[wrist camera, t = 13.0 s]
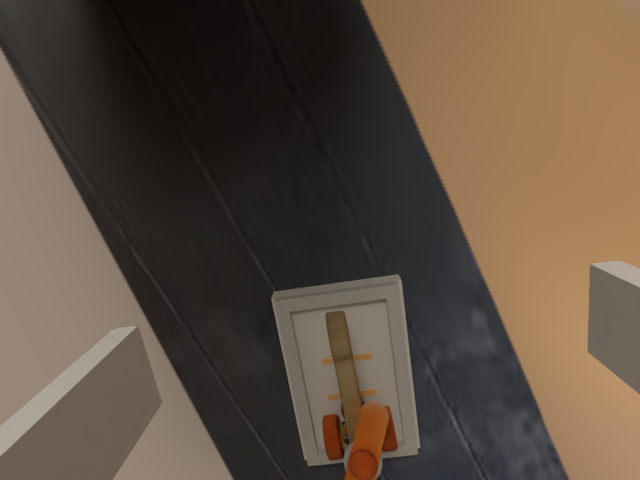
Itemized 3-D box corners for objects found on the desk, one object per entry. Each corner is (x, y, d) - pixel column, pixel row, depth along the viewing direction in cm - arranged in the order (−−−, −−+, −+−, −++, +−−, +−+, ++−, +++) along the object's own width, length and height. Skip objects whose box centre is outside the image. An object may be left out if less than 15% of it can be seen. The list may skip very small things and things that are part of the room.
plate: (273, 291, 44) (269, 302, 42) (398, 274, 43) (403, 283, 41) (305, 448, 50) (304, 466, 47) (416, 435, 49) (422, 454, 46)
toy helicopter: (331, 445, 47) (331, 562, 34) (297, 297, 42) (281, 367, 29) (394, 436, 47) (419, 552, 33) (367, 284, 42) (385, 350, 28)
